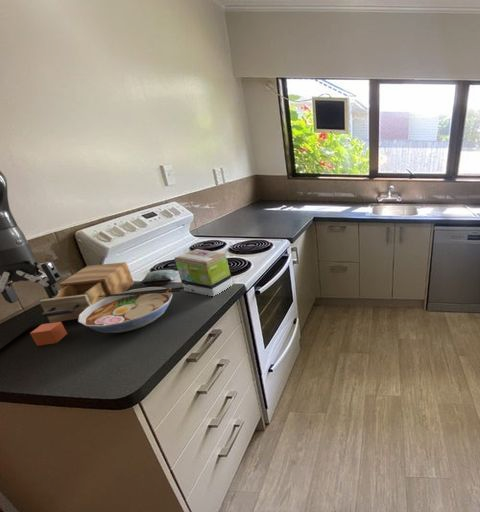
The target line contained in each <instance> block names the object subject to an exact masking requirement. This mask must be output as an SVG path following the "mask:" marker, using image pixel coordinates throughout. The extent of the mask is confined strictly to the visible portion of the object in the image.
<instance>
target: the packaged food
mask: <svg viewBox="0 0 480 512" xmlns="http://www.w3.org/2000/svg"><path fill="white" fill-rule="evenodd" d="M177 276H179V272H178V270H174V269H160V270H159V269H158V270H157V269H156V270H153V271H149V272H148V273H147V274H146V275H145V276H144V278H143V279H142V280H141V281H139V284H142V285H145V286H155V285H164V284H169V283H171V282H175V280H174V278H176V277H177Z"/></svg>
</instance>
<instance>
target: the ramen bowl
mask: <svg viewBox="0 0 480 512" xmlns="http://www.w3.org/2000/svg"><path fill="white" fill-rule="evenodd" d="M183 290H184V287H183V286H178V287H170V288H166V287H163V286H149V287H140V288H134V289H130V290H127V291H125V292H122V293H118V294H111V296H110V297H108V296H109V295H102V296H99V297H107V298H105V299H102V300H100V301H98V302H96V303H94V304H92V305H91V306H89V307H87V308H86V309H85V310H84V311H83V312H82V313H81V314H80V315H79V319H77V322H78V323H79V324H81V325H83V326H85V327H87V328H89V329H91V330H94V331H95V332H99V333H111V334H119V333H124V332H125V333H126V332H130V331H134V330H137V329H140V328H143V327H145V326H147V325H149V324H151V323H154V321H156V320H157V319H159V318H160V317H161V316H162V315H163V314H164V313H165V312H166V310H167V309H168V307H169V305H170V304H171V301H172V300H173V293H181V292H182V291H183Z"/></svg>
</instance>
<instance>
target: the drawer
mask: <svg viewBox="0 0 480 512" xmlns="http://www.w3.org/2000/svg"><path fill="white" fill-rule="evenodd" d="M102 295H108V292H107V290H106V287H105V285H104V283H103V281H99V282H90V283H81V284H72V285H67V286H65V287H64V288H61V289H59V290H58V294H57V296H55V297H54V298H49V297H48V298H45V299H40V300H39V301H38V303H39V304H40V307H41V308H42V310H43V312H42V313H41V316H42V317H43V318H46V317H47V320H48V321H49V323H54V322H63V321H70V320H78V319H79V315H80V314H81V313H82V312H83V311H84V310H85V309H86V308H87V307H89V306H91V305H92V304H94V303H96V302H98V301H100V300H102V299H105V298H107V297H99V296H102ZM108 297H109V296H108Z"/></svg>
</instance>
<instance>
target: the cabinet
mask: <svg viewBox="0 0 480 512" xmlns="http://www.w3.org/2000/svg"><path fill="white" fill-rule="evenodd" d="M99 281H103V283H104V285H105V287H106V290H107V292H108V295H109V297H110V296H111V294H118V293H122V292H126V291H129V289H131V287H132V286H133V285H134V284H135V281H134V278H133V276H132V274H131V270H130V268H129V266H128V262H127V261H123V262H113V263H103V264H93V265H86V266H85V267H83V268H81V269H80V270H79V271H77V272H76V273H74V274H72V275H70V276H69V277H68V278H66V279H64V280H63V281H61V282H59V286H60V288H61V289H62V288H64V287H65V286H67V285H72V284H81V283H90V282H99Z"/></svg>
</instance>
